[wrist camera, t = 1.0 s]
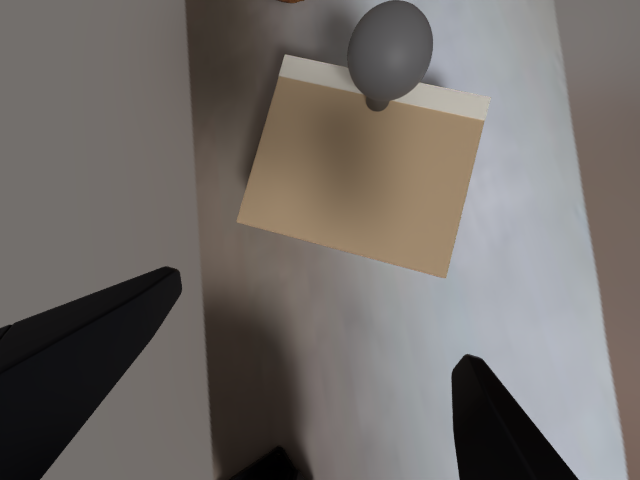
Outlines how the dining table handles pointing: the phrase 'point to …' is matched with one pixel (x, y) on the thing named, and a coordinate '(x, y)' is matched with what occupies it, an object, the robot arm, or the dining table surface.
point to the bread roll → (290, 1)
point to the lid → (368, 149)
